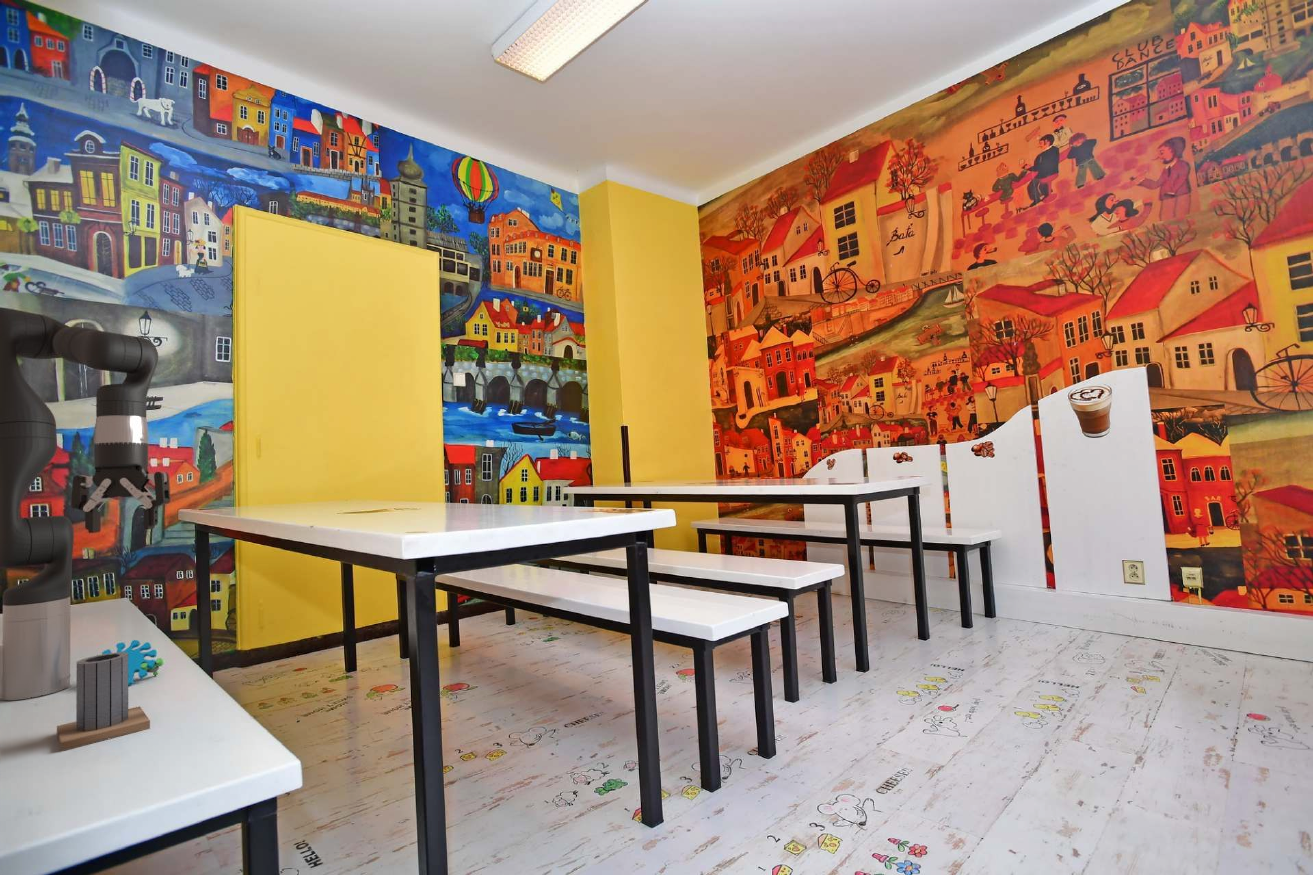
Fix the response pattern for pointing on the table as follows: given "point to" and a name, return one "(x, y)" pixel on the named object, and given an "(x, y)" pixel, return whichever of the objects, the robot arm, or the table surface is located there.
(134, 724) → the base plate
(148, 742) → the table surface
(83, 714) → the sleeve
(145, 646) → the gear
